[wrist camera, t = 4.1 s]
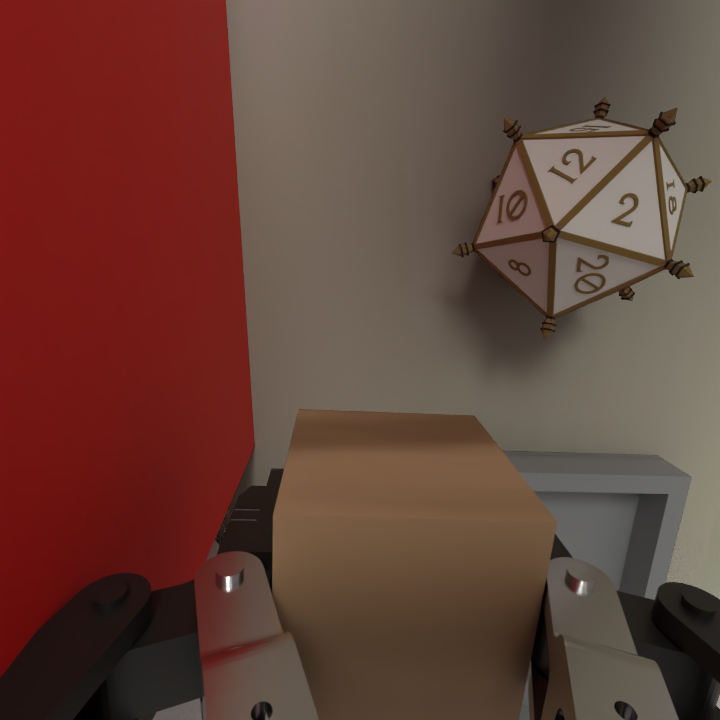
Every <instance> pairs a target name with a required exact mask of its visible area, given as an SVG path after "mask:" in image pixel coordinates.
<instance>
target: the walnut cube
mask: <svg viewBox="0 0 720 720" xmlns="http://www.w3.org/2000/svg"><path fill="white" fill-rule="evenodd" d="M556 526H557V521H556V519H555V518H554V517H553V516H552V514H551V513H550V512H549V510H548V509H547V508H546V507H545V505H544V504H543V503H542V501H541V500H540V499H539V498H538V496H537V495H536V494H535V492H534V491H533V490H532V489H531V487H530V486H529V485H528V484H527V482H526V481H525V480H524V478H523V477H522V476H521V475H520V473H519V472H518V471H517V469H516V468H515V467H514V466H513V464H512V463H511V462H510V461H509V459H508V458H507V457H506V455H505V454H504V453H503V452H502V450H501V449H500V448H499V446H498V445H497V444H496V443H495V441H494V440H493V439H492V437H491V436H490V435H489V434H488V432H487V431H486V430H485V429H484V427H483V426H482V425H481V423H480V422H479V421H478V420H477V418H476V417H475V416H469V415H442V414H415V413H388V412H361V411H334V410H307V409H299V410H298V414H297V418H296V422H295V427H294V431H293V435H292V439H291V443H290V447H289V451H288V455H287V459H286V463H285V468H284V472H283V476H282V480H281V484H280V488H279V492H278V496H277V500H276V504H275V509H274V513H273V562H272V597H273V600H274V604H275V607H276V611H277V614H278V617H279V621H280V624H281V628H282V631H283V633H285V632H290V633H291V634H292V636H293V639H294V641H295V644H296V648H297V651H298V654H299V657H300V660H301V664H302V667H303V670H304V673H305V676H306V679H307V683H308V686H309V689H310V692H311V695H312V699H313V702H314V705H315V708H316V711H317V715H318V718H319V720H519V717H520V712H521V707H522V702H523V697H524V692H525V686H526V681H527V676H528V671H529V666H530V661H531V655H532V650H533V645H534V640H535V635H536V630H537V624H538V619H539V614H540V609H541V604H542V599H543V593H544V588H545V583H546V578H547V573H548V568H549V562H550V557H551V552H552V547H553V542H554V536H555V531H556Z"/></svg>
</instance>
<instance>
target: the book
mask: <svg viewBox="0 0 720 720" xmlns="http://www.w3.org/2000/svg"><path fill="white" fill-rule="evenodd" d="M254 447H255V443H254V428H253V413H252V397H251V382H250V367H249V351H248V336H247V321H246V305H245V290H244V275H243V259H242V244H241V229H240V213H239V198H238V183H237V167H236V152H235V137H234V121H233V106H232V91H231V75H230V60H229V45H228V29H227V14H226V0H0V677H1V676H2V675H3V674H4V672H5V671H6V670H7V668H8V667H9V666H10V665H11V663H12V662H13V661H14V659H15V658H16V657H17V656H18V654H19V653H20V652H21V650H22V649H23V648H24V646H25V645H26V644H27V643H28V641H29V640H30V639H31V637H32V636H33V635H34V634H35V632H36V631H37V630H38V629H39V628H40V627H42V626H43V625H44V624H45V623H46V622H47V621H48V620H49V619H50V618H51V617H52V616H53V615H54V614H56V613H57V612H58V611H59V610H60V609H61V608H62V607H63V606H64V605H65V604H66V603H67V602H69V601H70V600H71V599H72V598H73V597H74V596H75V595H76V594H77V593H78V592H79V591H81V590H82V589H83V588H84V587H86V586H87V585H89V584H90V583H92V582H94V581H96V580H98V579H101V578H103V577H106V576H109V575H113V574H118V573H135V574H138V575H141V576H143V577H145V578H146V579H147V580H148V581H149V583H150V586H151V591H154V590H159V589H163V588H168V587H172V586H176V585H180V584H183V583H186V582H189V581H191V580H193V579H194V578H195V574H196V572H197V570H198V569H199V567H200V566H201V565H202V564H203V563H204V562H205V561H206V560H207V557H208V555H209V552H210V550H211V548H212V545H213V543H214V541H215V538H216V536H217V534H218V531H219V529H220V527H221V524H222V522H223V520H224V517H225V515H226V513H227V510H228V508H229V506H230V503H231V501H232V498H233V496H234V494H235V491H236V489H237V487H238V484H239V482H240V480H241V477H242V475H243V473H244V470H245V468H246V466H247V463H248V461H249V459H250V456H251V454H252V451H253V449H254Z"/></svg>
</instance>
